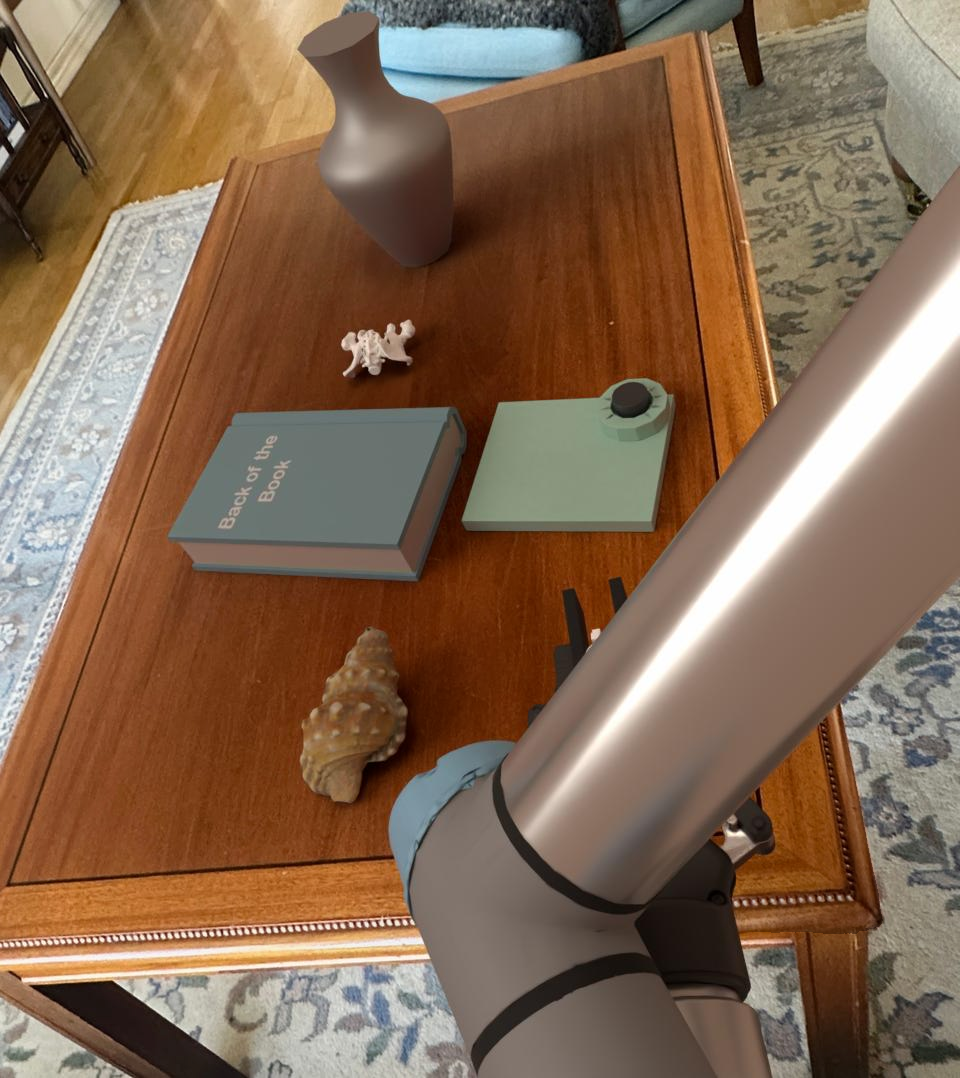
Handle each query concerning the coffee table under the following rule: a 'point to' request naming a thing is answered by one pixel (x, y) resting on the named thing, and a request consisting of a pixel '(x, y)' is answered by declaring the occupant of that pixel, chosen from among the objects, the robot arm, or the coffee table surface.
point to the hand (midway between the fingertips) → (595, 597)
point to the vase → (382, 145)
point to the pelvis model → (377, 348)
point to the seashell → (354, 720)
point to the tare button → (631, 400)
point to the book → (324, 493)
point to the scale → (572, 466)
